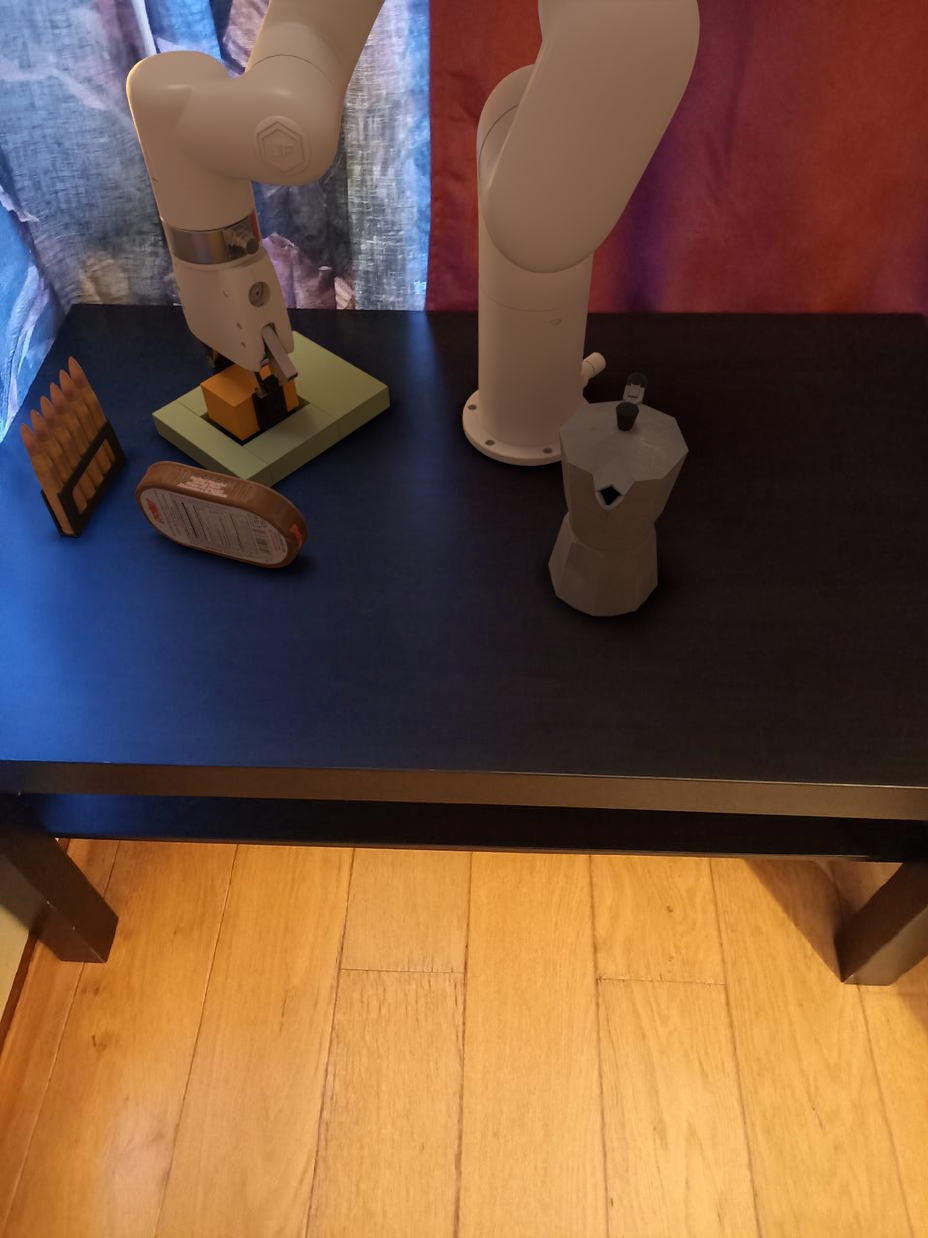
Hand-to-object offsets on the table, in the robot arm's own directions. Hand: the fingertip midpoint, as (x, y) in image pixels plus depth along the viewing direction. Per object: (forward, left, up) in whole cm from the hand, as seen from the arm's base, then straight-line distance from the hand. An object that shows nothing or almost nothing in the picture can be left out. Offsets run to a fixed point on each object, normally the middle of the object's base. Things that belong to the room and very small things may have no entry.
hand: (254, 407), depth 90 cm
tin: (+12, +11, -3) cm, 16 cm away
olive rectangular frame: (-2, 0, -3) cm, 3 cm away
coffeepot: (-8, +36, -3) cm, 37 cm away
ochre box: (0, 0, 0) cm, 0 cm away
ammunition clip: (+16, -4, -3) cm, 17 cm away
